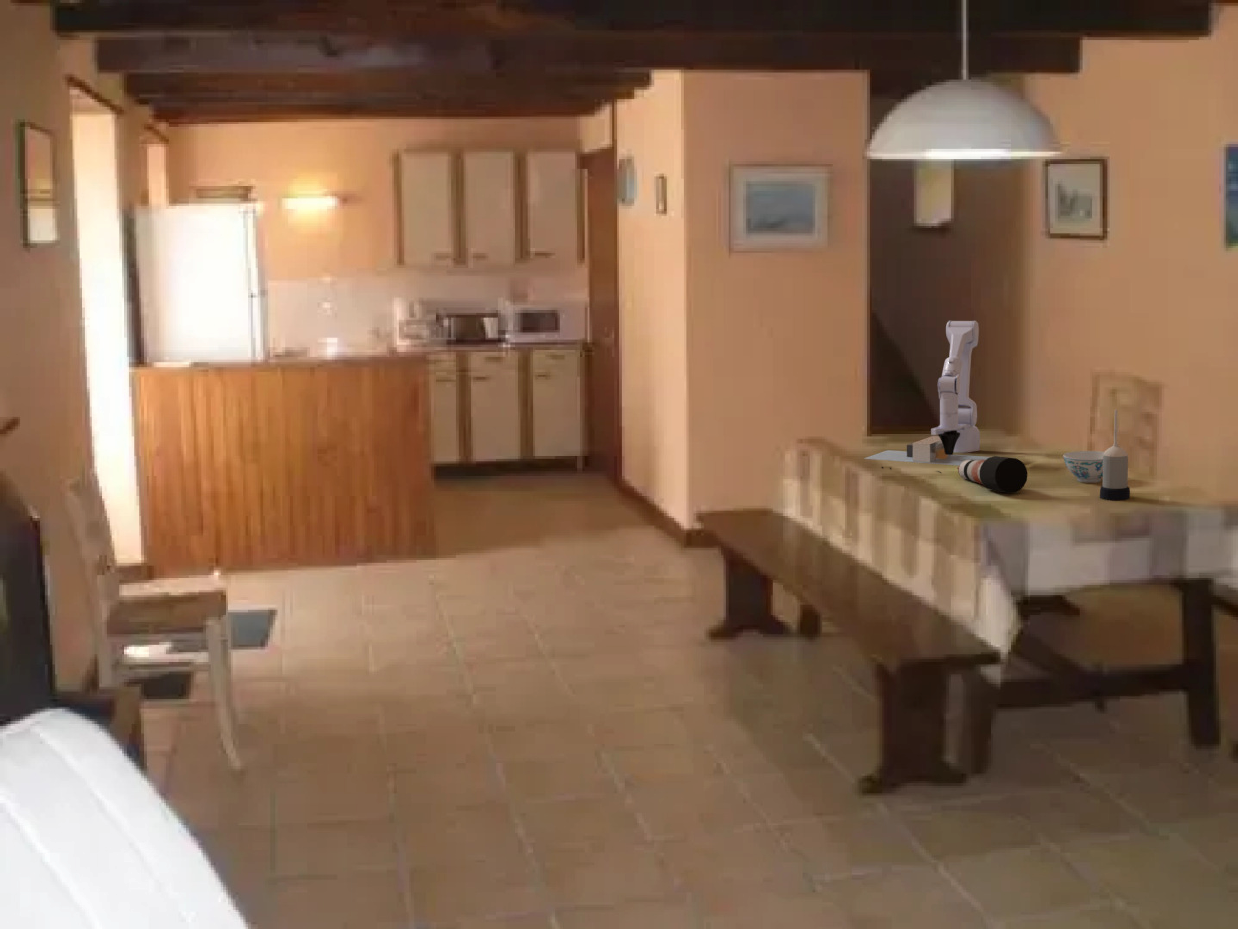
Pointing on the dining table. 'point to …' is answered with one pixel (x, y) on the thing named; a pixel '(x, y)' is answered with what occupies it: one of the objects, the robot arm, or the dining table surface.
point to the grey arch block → (927, 449)
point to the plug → (939, 455)
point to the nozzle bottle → (1115, 471)
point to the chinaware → (1085, 465)
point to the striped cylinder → (996, 473)
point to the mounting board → (903, 457)
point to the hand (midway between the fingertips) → (949, 454)
